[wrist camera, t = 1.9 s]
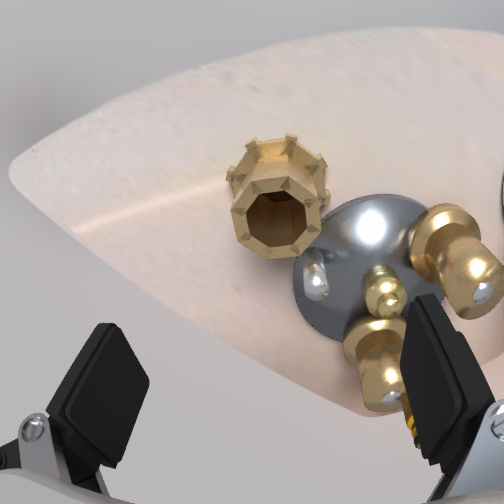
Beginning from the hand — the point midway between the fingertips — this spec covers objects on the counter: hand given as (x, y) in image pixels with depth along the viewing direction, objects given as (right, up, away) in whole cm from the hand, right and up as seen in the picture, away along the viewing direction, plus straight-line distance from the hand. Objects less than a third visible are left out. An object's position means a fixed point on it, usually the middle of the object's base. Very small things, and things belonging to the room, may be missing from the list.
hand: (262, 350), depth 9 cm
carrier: (+12, 0, +19) cm, 23 cm away
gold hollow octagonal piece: (+2, +9, +16) cm, 18 cm away
